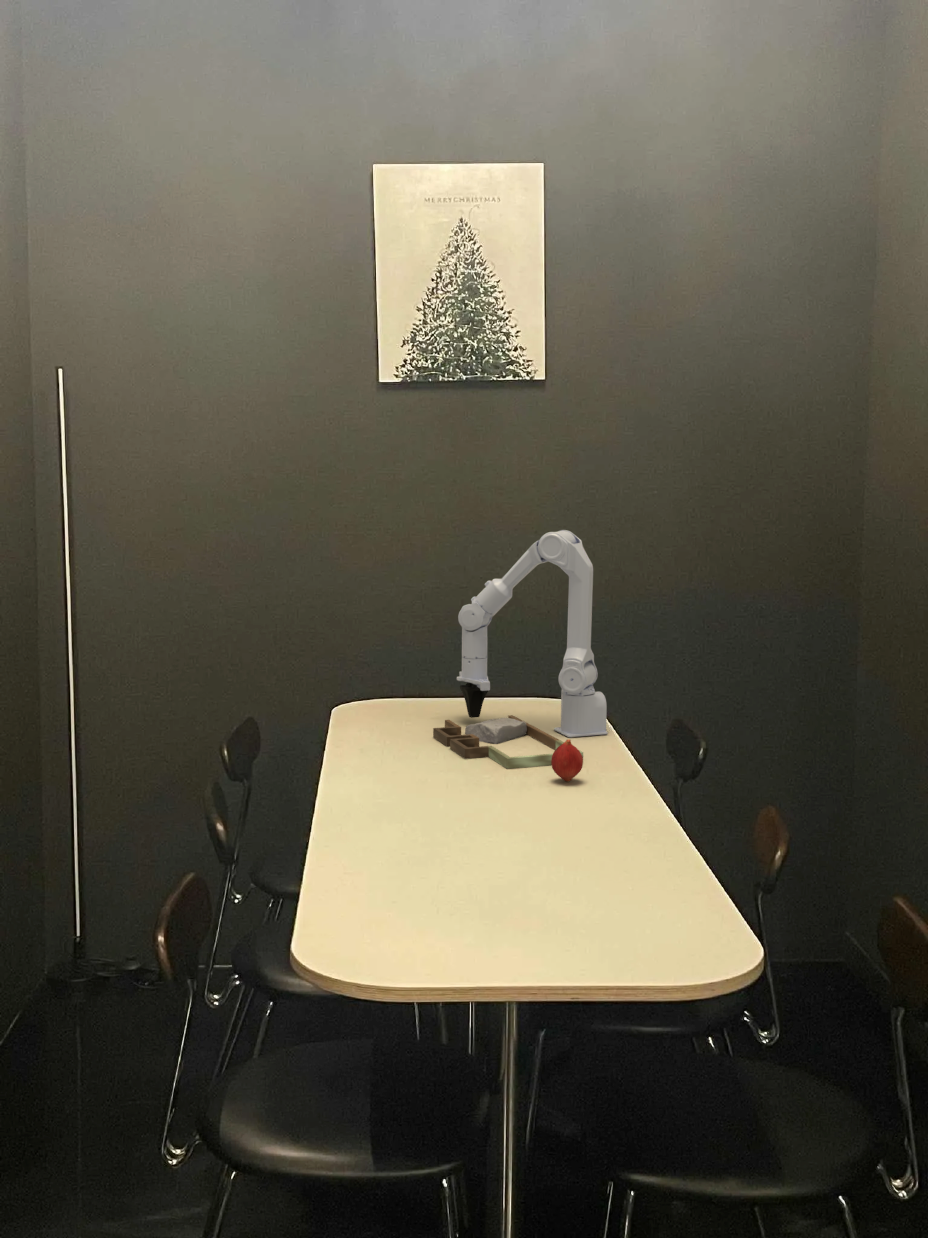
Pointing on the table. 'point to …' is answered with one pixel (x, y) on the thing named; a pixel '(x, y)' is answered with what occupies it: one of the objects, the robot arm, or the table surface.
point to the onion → (567, 761)
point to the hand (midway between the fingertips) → (474, 716)
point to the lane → (470, 747)
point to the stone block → (497, 730)
